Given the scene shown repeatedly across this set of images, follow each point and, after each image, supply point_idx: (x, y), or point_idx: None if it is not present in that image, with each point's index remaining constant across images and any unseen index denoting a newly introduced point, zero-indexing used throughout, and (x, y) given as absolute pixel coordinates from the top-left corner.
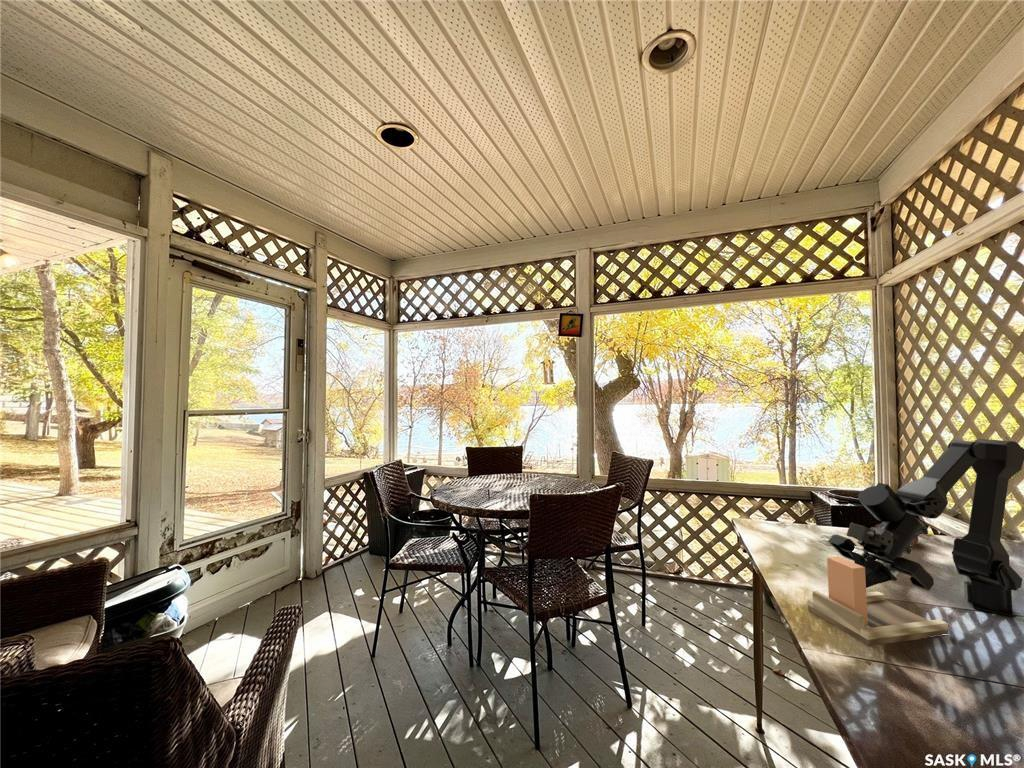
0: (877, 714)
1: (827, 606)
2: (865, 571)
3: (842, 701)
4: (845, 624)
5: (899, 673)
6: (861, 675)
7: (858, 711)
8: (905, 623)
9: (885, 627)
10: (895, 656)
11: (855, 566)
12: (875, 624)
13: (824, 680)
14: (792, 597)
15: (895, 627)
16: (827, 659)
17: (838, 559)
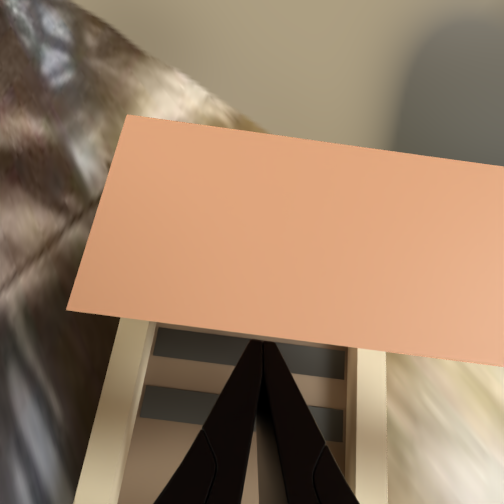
0: (18, 34)
1: None
2: (218, 488)
3: (69, 15)
4: None
5: (52, 192)
6: (93, 109)
7: (40, 15)
8: (118, 457)
9: (136, 330)
10: None
11: (150, 205)
12: (198, 365)
13: (120, 37)
14: None
15: (121, 372)
16: (162, 98)
17: (420, 240)
